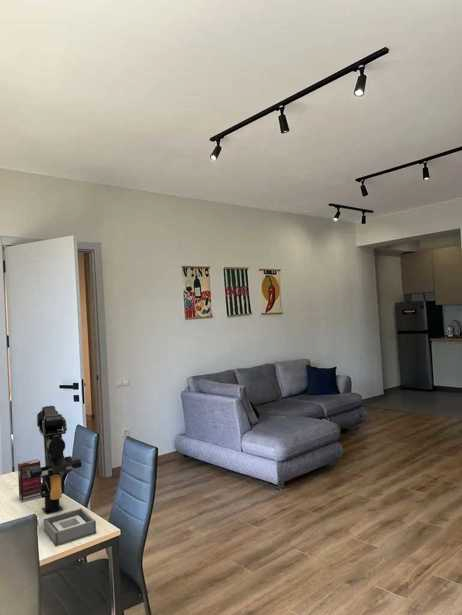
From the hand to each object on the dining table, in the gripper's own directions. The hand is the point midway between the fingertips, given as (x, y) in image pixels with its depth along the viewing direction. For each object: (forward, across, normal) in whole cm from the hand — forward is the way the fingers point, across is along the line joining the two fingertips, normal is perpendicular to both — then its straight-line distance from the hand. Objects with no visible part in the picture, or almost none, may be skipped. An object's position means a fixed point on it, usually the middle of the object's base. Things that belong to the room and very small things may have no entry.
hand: (55, 490), depth 170 cm
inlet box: (+13, +2, -10) cm, 16 cm away
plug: (+3, 0, 0) cm, 3 cm away
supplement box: (+13, -2, +36) cm, 38 cm away
